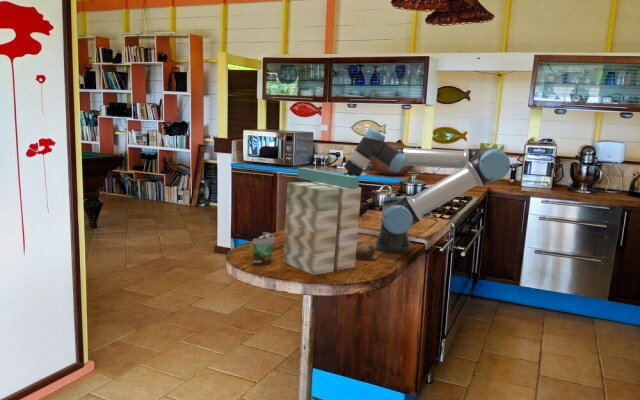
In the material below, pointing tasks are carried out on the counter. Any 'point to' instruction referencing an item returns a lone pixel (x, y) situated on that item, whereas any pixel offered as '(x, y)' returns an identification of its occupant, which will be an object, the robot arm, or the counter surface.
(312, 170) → the beam
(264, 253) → the food container
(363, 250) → the mushroom
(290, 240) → the block stand
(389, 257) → the counter surface
